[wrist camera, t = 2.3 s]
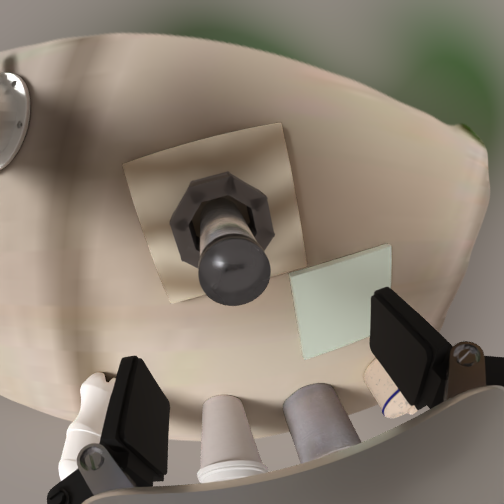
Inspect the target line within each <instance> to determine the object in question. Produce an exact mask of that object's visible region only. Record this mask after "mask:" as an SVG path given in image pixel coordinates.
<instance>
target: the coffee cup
mask: <svg viewBox="0 0 504 504" xmlns="http://www.w3.org/2000/svg"><path fill="white" fill-rule="evenodd" d="M267 472H268V467H267V466H266V465H264V464H263V463H262V460H261V458H260V455H259V452H258V449H257V446H256V443H255V441H254V438H253V435H252V432H251V429H250V426H249V422H248V419H247V416H246V413H245V410H244V407H243V404H242V402H241V400H240V399H238V398H237V397H234V396H230V395H218V396H214V397H211V398H209V399H208V400H206V401H205V403H204V404H203V412H202V438H201V468H200V470H199V471H198V473H197V477H198V479H199V481H200V483H209V482H217V481H224V480H230V479H237V478H242V477H248V476H253V475H258V474H263V473H267Z"/></svg>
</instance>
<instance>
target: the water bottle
mask: <svg viewBox="0 0 504 504" xmlns="http://www.w3.org/2000/svg"><path fill="white" fill-rule="evenodd" d="M115 380H116V378H113V379H111V380H110V381H109V382H106V379H105V375H104V373H101V372H97V373H94V374H92V375H91V376H90V377H89V378H88V379H87V380H86V381H85V382H84V383H83V384H82V386H81V389H80V393H81V409H80V412H79V414H78V416H77V418H76V419H75V420H74V421H73V422H72V423H71V425H70V426H69V427H68V430H67V438H66V441H65V445H64V449H63V453H62V457H61V461H60V462H59V475H60V479H61V481H62V480H63V479H65V478H66V477H67V476H69V475H70V474H71V473H73V472H74V471H75V470H77V469H78V466H77V456H78V453H79V452H80V450H81V449H82V448H83V447H85V446H86V445H88V444H92V443H98V444H99V443H100V438H101V434H102V429H103V425H104V420H105V416H106V412H107V408H108V404H109V400H110V396H111V394H112V391H113V387H114V383H115Z"/></svg>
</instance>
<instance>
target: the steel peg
mask: <svg viewBox="0 0 504 504" xmlns="http://www.w3.org/2000/svg"><path fill="white" fill-rule="evenodd" d="M270 275H271V267H270V263H269V260H268V258H267V256H266V254H265V252H264V251H263V249H262V247H261V246H260V245H259V244H258V242H257V241H256V239H255V238H254V236H253V234H252V232H251V230H250V229H249V227H248V225H247V223H246V221H245V220H244V218H243V216H242V214H241V212H240V211H239V209H238V207H237V206H236V204H235V203H233V202H232V201H231V200H229V199H225V198H216V199H213V200H211V201H209V202H208V203H207V204H206V205H205V206H204V207H203V209H202V211H201V215H200V258H199V265H198V277H199V282H200V285H201V288H202V289H203V291H204V292H205V294H206V295H207V296H208V297H209V298H211V299H212V300H213V301H215V302H217V303H220V304H223V305H229V306H237V305H243V304H246V303H249V302H251V301H253V300H254V299H256V298H257V297H258V296H260V295H261V294H262V292H263V291H264V290H265V288H266V287H267V285H268V283H269V280H270Z"/></svg>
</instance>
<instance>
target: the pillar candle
mask: <svg viewBox="0 0 504 504" xmlns="http://www.w3.org/2000/svg"><path fill="white" fill-rule="evenodd" d="M283 412H284V415H285V419H286V422H287V425H288V428H289V431H290V434H291V436H292V439H293V442H294V445H295V447H296V451H297V454H298V457H299V460H300V462H301V464H302V463H305V462H309V461H312V460H315V459H318V458H321V457H324V456H327V455H330V454H333V453H336V452H339V451H341V450H344V449H347V448H349V447H352V446H354V445H357V444H359V443H361V440H360V439H359V437H358V435H357V433H356V431H355V429H354V427H353V425H352V423H351V421H350V419H349V417H348V415H347V413H346V411H345V409H344V407H343V405H342V404H341V402H340V400H339V398H338V396H337V394H336V392H335V390H334V389H333V387H332V386H330V385H328V384H322V383H318V384H312V385H308V386H305V387H302V388H300V389H299V390H297V391H296V392H295V393H294V394H292V395H291V396H290V397H289V398H288V399H287V400H286V401H285V402H284V404H283Z"/></svg>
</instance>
